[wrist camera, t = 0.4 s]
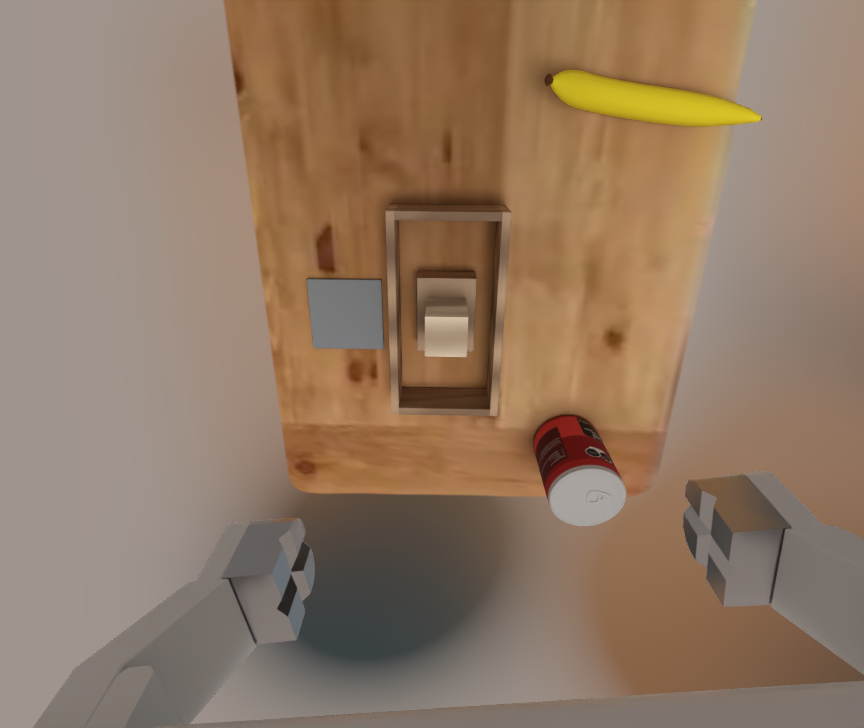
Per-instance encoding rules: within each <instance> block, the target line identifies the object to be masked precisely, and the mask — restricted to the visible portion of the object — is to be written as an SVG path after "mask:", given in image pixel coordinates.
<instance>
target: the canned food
mask: <svg viewBox="0 0 864 728" xmlns="http://www.w3.org/2000/svg"><path fill="white" fill-rule="evenodd" d="M534 451H535V455H536V459H537V462H538V466H539V470H540V473H541V477H542V481H543V485H544V488H545V492H546V495H547V499H548V502H549V505H550V507H551V509H552V511H553V513H554V514H555V515H556V516H557V517H558V518H559V519H561V520H562V521H564V522H566V523H568V524H572V525H576V526H592V525H596V524H600V523H603V522H605V521H607V520H609V519H611V518H612V517H613V516H615V515H616V514H617V513H618V512H619V511H620V510H621V508H622V506H623V505H624V502H625V499H626V490H625V487H624V483H623V481H622V479H621V477H620V475H619V473H618V471H617V469H616V467H615V465H614V463H613V461H612V459H611V457H610V455H609V454H608V452H607V450H606V448H605V446H604V444H603V442H602V440H601V438H600V436H599V434H598V432H597V430H596V429H595V428H594V427H593V425H591V424H590V423H589V422H587V421H586V420H584V419H582V418H580V417H576V416H569V415H567V416H559V417H555V418H553V419H551V420H549V421H547V422H546V423H544V424H543V425H542V426H541V427H540V429H539V430H538V432H537V434H536V436H535V440H534Z"/></svg>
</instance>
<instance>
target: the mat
mask: <svg viewBox="0 0 864 728" xmlns="http://www.w3.org/2000/svg"><path fill="white" fill-rule="evenodd" d="M307 287H308V298H309V308H310V318H311V328H312V338H313V348H340V349H384V334H383V306H382V279H316V278H308V279H307Z"/></svg>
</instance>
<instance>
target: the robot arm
mask: <svg viewBox="0 0 864 728" xmlns="http://www.w3.org/2000/svg"><path fill="white" fill-rule="evenodd" d="M685 497H686V498H687V500H688V501H689V503H690V504H691V506H690V507H689V508H688V509H687V510H686V511H685V512H684V514H683V515H684V516H683V529H684V534H685V538H686V542H687V545H688V547H689V549H690V552H691V553H692V555H693V557H694V558H695V560H696V561H697V562H699V563H701V564H702V565H704V566H705V567H707V574H706V575H707V576H706V579H707V581H708V582H709V584H710V586H711V587H712V589H713V591H714V592H715V594H716V596H717V597H718V599H719V601H720V602H721V604H722V606H723V607H731V606H752V605H771V607H772V608H773V609H775V610H776V611H777V612H779V613H780V614H781V615H783V616H784V617H786V618H787V619H788V620H790V621H791V622H792V623H794V624H795V625H796V626H798V627H799V628H801V629H802V630H803V631H805V632H806V633H807V634H809V635H810V636H812V637H813V638H814V639H816V640H817V641H818V642H820V643H821V644H822V645H824V646H825V647H827V648H828V649H829V650H831V651H832V652H833V653H835V654H836V655H838V656H839V657H840V658H842V659H843V660H845V661H846V662H847V663H849V664H850V665H851V666H853V667H854V668H855V669H857V670H858V671H860V672H861V673H862V674H864V539H863V538H861V537H859V536H856V535H854V534H852V533H849V532H847V531H845V530H843V529H840V528H838V527H836V526H834V525H829V526H824V525H823V524H822V523H821V522H820V521H819V520H818V519H817V518H816V517H815V516H814V515H813V514H812V513H811V512H810V511H809V510H808V509H807V508H806V507H805V506H804V505H803V504H802V503H801V502H800V501H799V500H798V499H797V498H796V497H795V496H794V495H793V494H792V493H791V492H790V491H789V490H788V489H787V488H786V487H785V486H784V485H783V483H781V481H779V479H778V478H777V477H775V475H774V474H772V473H770V472H768V471H759V472H751V473H743V474H739V475H730V476H720V477H710V478H700V479H691V480H688V482H687V484H686V489H685ZM305 532H306V531H305V529H304V526H303V523H302V520H300V519H298V518H287V519H274V520H262V521H261V520H260V521H254V522H238V523H232V524H230V525H229V526H227V527H226V529H225V530H224V532H223V534H222V536H221V538H220V539H219V541H218V543H217V545H216V546H215V548H214V550H213V552H212V554H211V555H210V557H209V559H208V560H207V562H206V564H205V566H204V568H203V569H202V571H201V573H200V574H199V576H198V578H197V580H196V581H195V582H189V583H187V584H186V585H184V586H183V587H182V588H180V589H179V590H178V591H176V592H175V593H174V594H173V595H171V596H170V597H168V598H167V599H166V600H165V601H163V602H162V603H160V604H159V605H158V606H157V607H155V608H154V609H153V610H151V611H150V612H149V613H147V614H146V615H145V616H143V617H142V618H141V619H139V620H138V621H137V622H136V623H134V624H133V625H131V626H130V627H129V628H127V629H126V630H125V631H124V632H122V633H121V634H120V635H118V636H117V637H116V638H114V639H113V640H112V641H110V642H109V643H108V644H107V645H105V646H104V647H103V648H101V649H100V650H98V651H97V652H96V653H94V654H93V655H92V656H91V657H89V658H88V659H87V660H85V661H84V662H83V663H81V664H80V665H79V666H77V667H76V668H75V669H74V670H73V671H72V673H71V674H70V675H69V677H68V679H67V680H66V681H65V683H64V684H63V685H62V687H61V688H60V690H59V691H58V693H57V694H56V695H55V697H54V698H53V700H52V701H51V703H50V704H49V705H48V707H47V708H46V710H45V711H44V712H43V714H42V715H41V717H40V718H39V720H38V721H37V722H36V724H35V725H34V727H33V728H864V681H854V682H839V683H823V684H807V685H791V686H776V687H761V688H744V689H731V690H713V691H698V692H682V693H668V694H652V695H636V696H621V697H605V698H590V699H574V700H559V701H543V702H528V703H512V704H497V705H481V706H466V707H450V708H435V709H419V710H404V711H388V712H373V713H357V714H342V715H326V716H311V717H295V718H280V719H264V720H249V721H234V722H219V723H203V724H190V723H191V722H192V721H193V719H194V718H195V717H196V716H197V715H198V714H199V713H200V711H201V710H202V709H203V708H204V707H205V705H206V704H207V703H208V702H209V701H210V700H211V699H212V697H213V696H214V695H215V694H216V693H217V692H218V690H219V689H220V688H221V687H222V686H223V685H224V683H225V682H226V681H227V680H228V679H229V678H230V676H231V675H232V674H233V673H234V672H235V671H236V669H237V668H238V667H239V666H240V665H241V664H242V662H243V661H244V660H245V659H246V658H247V657H248V655H249V654H250V653H251V652H252V651H253V649H255V647H256V645H255V644H263V643H272V642H282V641H291V640H297V637H298V633H299V629H300V627H301V623H302V620H303V617H304V613H305V610H304V606H303V603H302V601H303V600H304V599H305V598H306V597H307V596H308V595H309V594H310V593H311V589H312V586H313V582H314V569H315V566H314V558H313V554H312V551H311V548H310V547H309V546H307V544H305V543H304V542H303V538H304V535H305Z"/></svg>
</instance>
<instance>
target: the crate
mask: <svg viewBox="0 0 864 728" xmlns="http://www.w3.org/2000/svg"><path fill="white" fill-rule="evenodd" d="M511 213H512V212H511V211H510V210H509V209H508V207H507V206H506V205H435V204H390V206H389V207H388V208H387V210H386V211H385V218H386V250H387V282H388V314H389V346H390V379H391V411H392V414H408V415H463V416H497V412H498V397H499V383H500V369H501V355H502V341H503V327H504V312H505V298H506V284H507V270H508V256H509V242H510V227H511ZM399 220H431V221H497V225H496V242H495V259H494V275H493V292H492V309H491V326H490V343H489V360H488V377H487V388H433V387H402V350H401V300H400V251H399ZM427 297H446V298H466V303H467V311H468V339H467V351H470V352H473V346H474V323H475V301H476V274H475V271H418V276H417V334H418V351H425V311H426V302H427Z"/></svg>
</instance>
